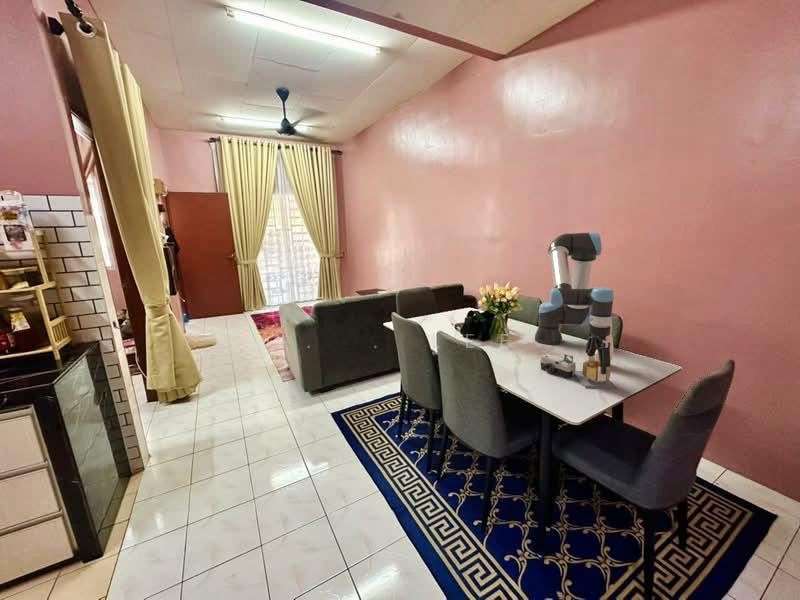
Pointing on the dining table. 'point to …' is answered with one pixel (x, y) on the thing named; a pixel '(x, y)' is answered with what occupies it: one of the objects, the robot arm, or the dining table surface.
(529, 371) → the dining table surface
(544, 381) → the dining table surface
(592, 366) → the ring
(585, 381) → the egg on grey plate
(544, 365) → the camera
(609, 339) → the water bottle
